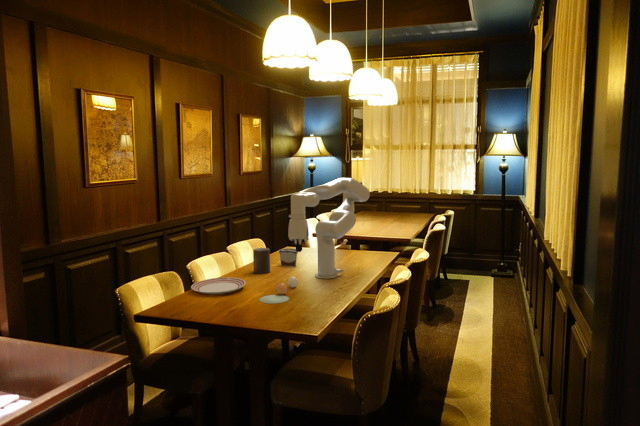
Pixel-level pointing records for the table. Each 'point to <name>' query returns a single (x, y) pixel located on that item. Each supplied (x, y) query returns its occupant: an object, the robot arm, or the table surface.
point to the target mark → (274, 299)
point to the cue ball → (292, 282)
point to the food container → (288, 257)
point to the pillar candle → (261, 260)
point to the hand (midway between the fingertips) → (299, 251)
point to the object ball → (281, 288)
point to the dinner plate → (218, 285)
